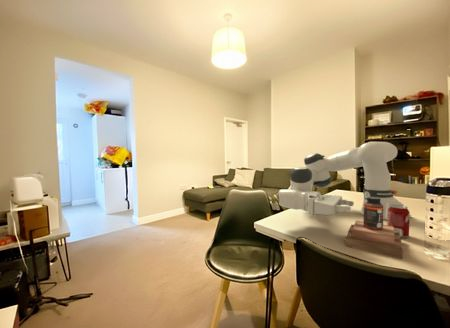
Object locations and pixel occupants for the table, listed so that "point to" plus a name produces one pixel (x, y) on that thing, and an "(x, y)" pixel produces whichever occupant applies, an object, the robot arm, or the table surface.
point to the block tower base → (375, 245)
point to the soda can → (399, 219)
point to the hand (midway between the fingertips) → (352, 206)
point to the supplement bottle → (373, 213)
